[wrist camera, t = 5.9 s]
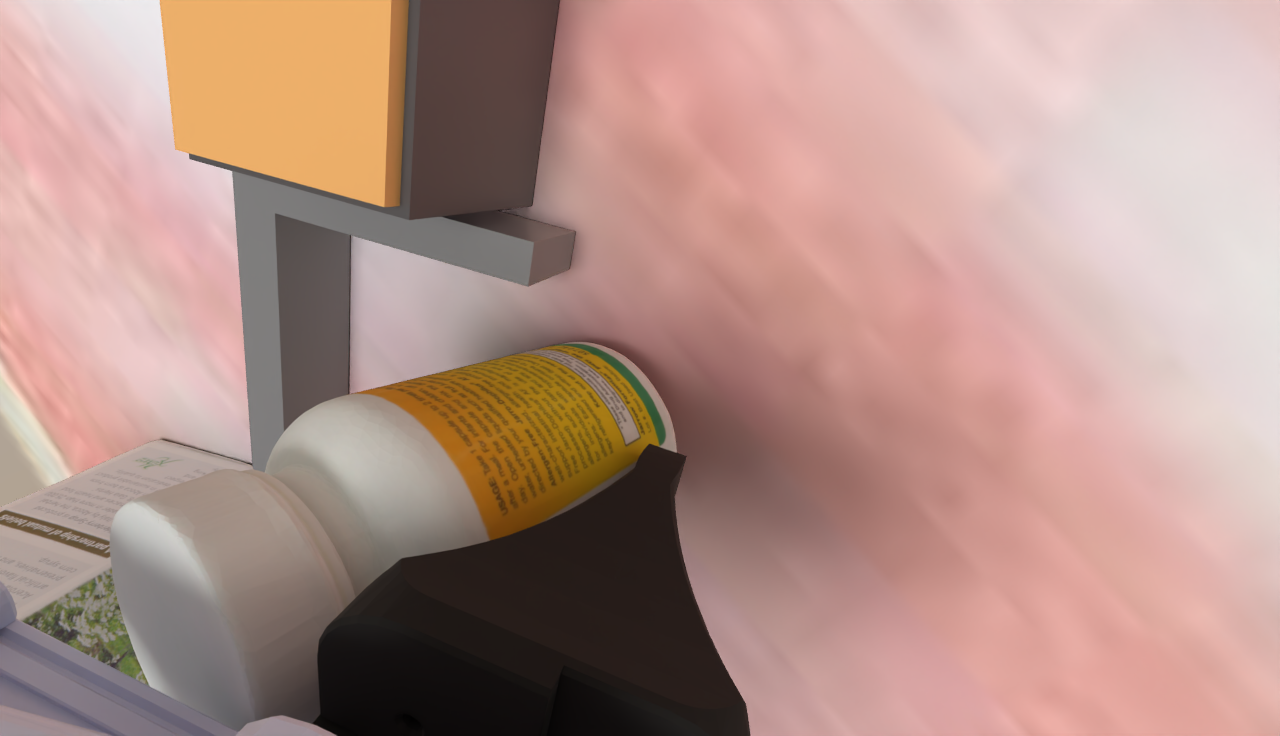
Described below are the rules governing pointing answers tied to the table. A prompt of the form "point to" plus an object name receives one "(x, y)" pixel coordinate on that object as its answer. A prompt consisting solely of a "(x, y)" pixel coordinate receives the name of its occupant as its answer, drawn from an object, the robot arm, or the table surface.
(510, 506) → the supplement bottle
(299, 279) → the grey tray with block
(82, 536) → the syrup box
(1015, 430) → the table surface
